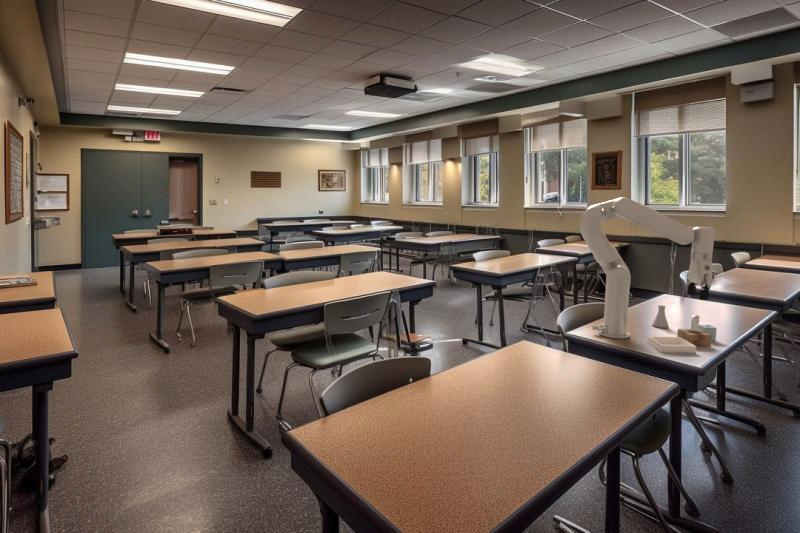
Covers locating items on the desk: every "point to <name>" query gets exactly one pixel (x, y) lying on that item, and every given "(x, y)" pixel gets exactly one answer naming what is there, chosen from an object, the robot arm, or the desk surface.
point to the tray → (671, 345)
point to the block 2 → (709, 330)
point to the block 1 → (695, 337)
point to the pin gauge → (694, 324)
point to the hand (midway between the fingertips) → (697, 297)
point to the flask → (660, 318)
